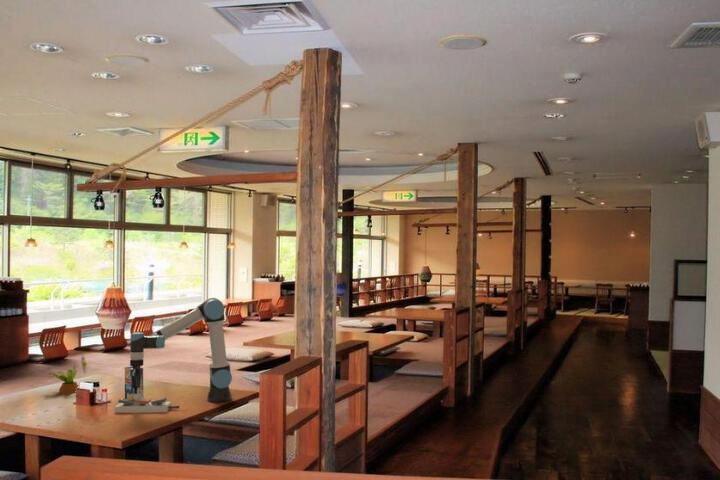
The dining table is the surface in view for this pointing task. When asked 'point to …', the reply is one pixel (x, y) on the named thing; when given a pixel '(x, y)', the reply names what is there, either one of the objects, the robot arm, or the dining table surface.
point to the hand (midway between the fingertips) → (136, 398)
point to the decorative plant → (69, 379)
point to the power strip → (144, 407)
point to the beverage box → (129, 384)
